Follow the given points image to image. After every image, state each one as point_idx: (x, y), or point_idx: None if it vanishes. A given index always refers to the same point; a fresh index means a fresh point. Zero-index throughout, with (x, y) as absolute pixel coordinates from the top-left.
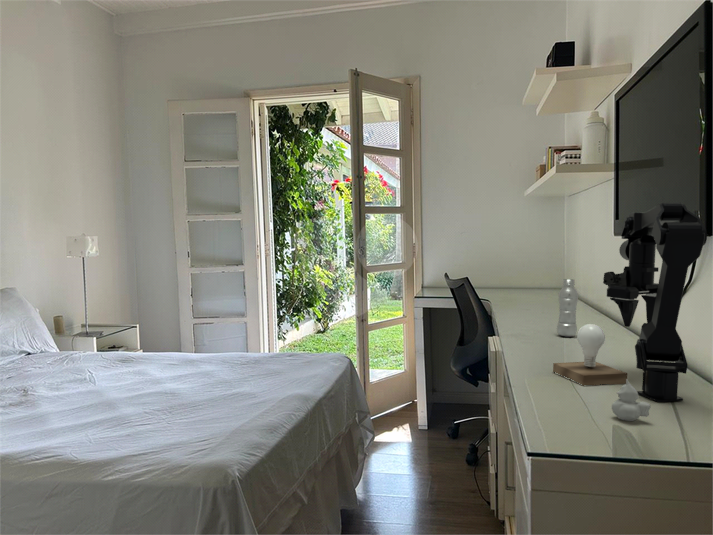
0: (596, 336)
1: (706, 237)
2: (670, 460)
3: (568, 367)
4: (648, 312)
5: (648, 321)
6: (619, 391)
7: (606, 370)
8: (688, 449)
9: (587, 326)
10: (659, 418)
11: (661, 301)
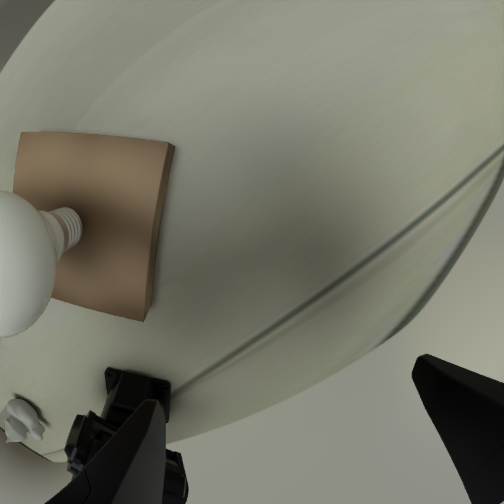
0: None
1: None
2: (30, 448)
3: (21, 196)
4: (464, 402)
5: (422, 371)
6: (5, 424)
7: (100, 272)
8: (53, 454)
9: None
10: (69, 426)
11: None
